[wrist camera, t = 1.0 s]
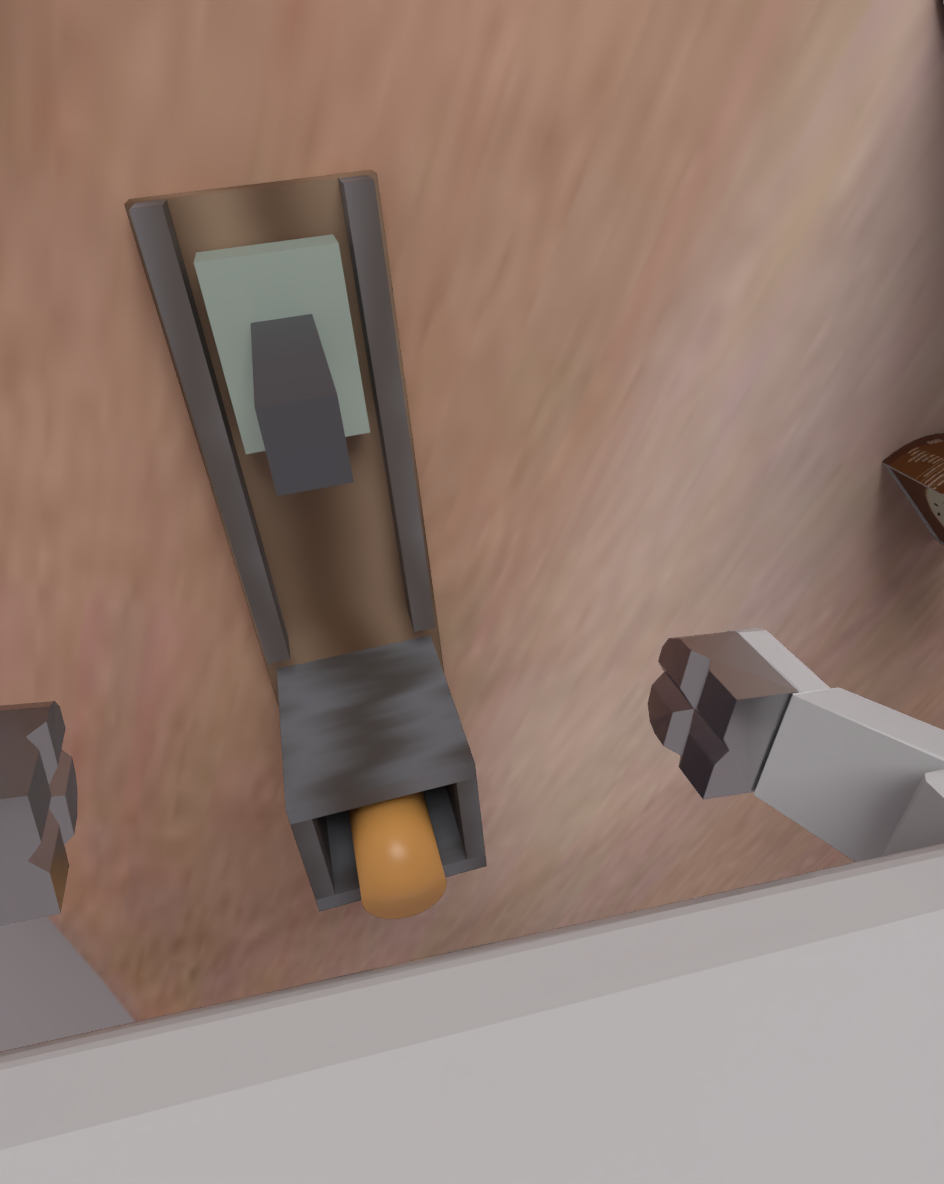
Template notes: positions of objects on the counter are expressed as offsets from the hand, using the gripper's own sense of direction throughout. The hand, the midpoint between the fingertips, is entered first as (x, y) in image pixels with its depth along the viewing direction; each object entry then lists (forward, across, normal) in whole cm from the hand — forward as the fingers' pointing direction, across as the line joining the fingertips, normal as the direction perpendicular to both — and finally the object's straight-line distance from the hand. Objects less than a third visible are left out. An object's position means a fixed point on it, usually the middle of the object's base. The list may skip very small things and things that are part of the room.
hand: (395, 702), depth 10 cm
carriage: (+28, -1, +2) cm, 28 cm away
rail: (+30, -3, +12) cm, 32 cm away
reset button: (+21, -5, +24) cm, 32 cm away
